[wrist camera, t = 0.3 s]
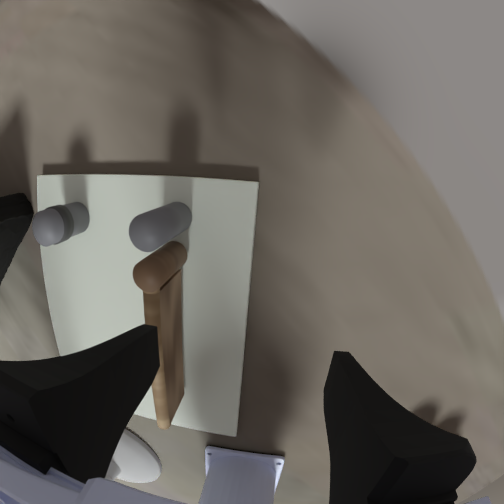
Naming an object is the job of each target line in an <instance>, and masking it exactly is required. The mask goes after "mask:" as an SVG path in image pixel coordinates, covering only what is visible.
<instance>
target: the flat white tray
mask: <svg viewBox="0 0 504 504" xmlns="http://www.w3.org/2000/svg"><path fill="white" fill-rule="evenodd" d="M258 191H259V182H255V181H244V180H232V179H218V178H203V177H186V176H165V175H136V174H53V175H38V176H37V204H38V212H37V213H36V214H35V216H34V218H33V222H32V229H33V234H34V236H35V239H36V240H37V242H38V243H39V244H40V249H41V258H42V266H43V274H44V281H45V287H46V293H47V299H48V305H49V310H50V315H51V320H52V325H53V329H54V333H55V338H56V342H57V346H58V350H59V354H60V356H64V355H68V354H72V353H75V352H79V351H82V350H85V349H88V348H90V347H93V346H95V345H98V344H100V343H103V342H105V341H107V340H110V339H112V338H114V337H116V336H118V335H120V334H122V333H125V332H127V331H129V330H131V329H133V328H135V327H137V326H140V325H142V324H145V318H144V303H143V290H141V289H140V288H139V287H138V286H137V285H136V283H135V282H134V279H133V268H134V266H135V265H136V264H137V263H138V262H140V261H141V260H142V259H144V258H145V257H147V256H148V255H150V254H151V253H153V252H154V251H156V250H157V249H159V248H160V247H162V246H163V245H164V244H166V243H168V242H170V241H177V242H180V243H181V244H182V245H183V246H184V247H185V248H186V250H187V255H188V256H187V261H186V262H185V264H184V265H183V266H182V267H181V268H180V269H181V270H182V273H181V303H182V351H183V375H184V396H183V398H182V400H181V403H180V405H179V407H178V409H177V411H176V414H175V416H174V418H173V420H172V422H171V424H173V425H177V426H182V427H186V428H190V429H195V430H200V431H205V432H210V433H215V434H221V435H227V436H233V437H236V434H237V428H238V417H239V406H240V395H241V383H242V372H243V361H244V350H245V338H246V327H247V316H248V304H249V293H250V282H251V270H252V259H253V248H254V236H255V225H256V213H257V202H258ZM134 414H136V415H140V416H143V417H147V418H150V419H154V420H157V419H156V413H155V406H154V400H153V393H152V385H151V387H150V388H149V390H148V392H147V393H146V395H145V396H144V398H143V400H142V401H141V403H140V404H139V406H138V407H137V409H136V411H135V412H134Z"/></svg>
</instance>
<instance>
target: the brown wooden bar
mask: <svg viewBox="0 0 504 504" xmlns="http://www.w3.org/2000/svg"><path fill="white" fill-rule="evenodd" d="M187 256H188V255H187V250H186V248H185V247H184V246H183V245H182V244H181V243H180V242H177V241H170V242H168V243H166V244H164V245H163V246H162V247H160V248H159V249H157V250H156V251H154V252H153V253H151V254H150V255H148V256H147V257H145V258H144V259H142V260H141V261H140V262H138V263H137V264H136V265H135V266H134V268H133V279H134V282H135V283H136V285H137V286H138V287H139V288H140V289H141V290H143V303H144V318H145V324H147V325H152V326H157V330H158V345H159V359H160V367H159V370H158V372H157V374H156V377H155V379H154V381H153V383H152V393H153V400H154V406H155V413H156V419H157V424H158V427H159V428H160V429H163V430H166V429H168V428H169V427H170V425H171V422H172V420H173V418H174V416H175V414H176V411H177V409H178V407H179V405H180V403H181V400H182V398H183V396H184V375H183V351H182V303H181V273H182V270H181V269H180V268H181V267H182V266H183V265H184V264H185V262H186V261H187Z"/></svg>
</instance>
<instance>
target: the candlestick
mask: <svg viewBox="0 0 504 504" xmlns="http://www.w3.org/2000/svg"><path fill="white" fill-rule="evenodd" d="M161 471H162V466H161V462H160V460H159V458H158V457H157V455H156V454H155V453H154V451H153V450H152V449H151V448H150V447H149V446H148V445H147V444H146V443H145V442H143V441H142V440H141V439H140V438H138V437H137V436H136V435H134V434H133V433H131V432H130V431H128V430H127V429H124V432H123V434H122V436H121V438H120V440H119V443H118V445H117V447H116V450H115V452H114V455H113V457H112V460H111V462H110V465H109V468H108V471H107V474H106V477H105V479H108V480H112V481H114V479H115V478H118V479H121V480H124V481H128V482H135V483H146V482H151V481H154V480H156V479H157V478H158V477H159V476H160V473H161Z"/></svg>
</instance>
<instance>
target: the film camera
mask: <svg viewBox="0 0 504 504" xmlns="http://www.w3.org/2000/svg"><path fill="white" fill-rule="evenodd" d="M33 214H34V212H33V209H32V206H31V203H30V202H29V201H28V200H27V198H26V196H25V195H24V194H23V193H17V194H12V195H8V196H4V197H0V284H1V281H2V279H3V278H4V277H5V276H4V274H5V273H6V272H7V268H8V267H9V266H10V263H11V261H12V258H14V254H15V252H16V250H17V248H18V246H19V244H20V243H21V242H22V239H23V237H24V235H25V234H26V232H27V230H28V228H29V226H30V223H31V221H32V217H33Z"/></svg>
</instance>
